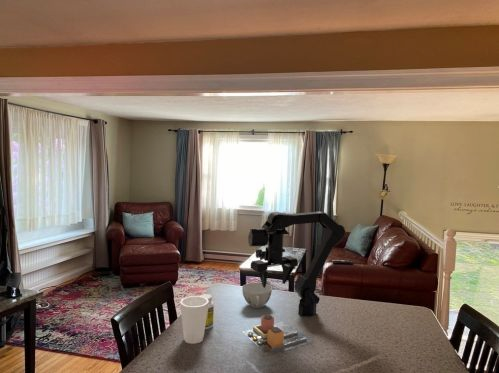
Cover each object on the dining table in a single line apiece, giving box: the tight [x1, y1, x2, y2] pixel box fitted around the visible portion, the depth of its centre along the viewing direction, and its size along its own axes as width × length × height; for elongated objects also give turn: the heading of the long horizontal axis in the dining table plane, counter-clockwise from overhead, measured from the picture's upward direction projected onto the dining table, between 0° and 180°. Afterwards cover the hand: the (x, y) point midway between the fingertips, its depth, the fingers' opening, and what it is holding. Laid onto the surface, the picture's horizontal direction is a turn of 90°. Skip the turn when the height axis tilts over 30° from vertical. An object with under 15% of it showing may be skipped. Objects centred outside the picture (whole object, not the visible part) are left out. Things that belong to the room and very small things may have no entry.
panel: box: [241, 320, 314, 357], centre depth 120 cm, size 18×17×2 cm
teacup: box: [241, 281, 273, 309], centre depth 146 cm, size 15×12×8 cm
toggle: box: [267, 327, 284, 347], centre depth 115 cm, size 4×4×5 cm
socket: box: [252, 324, 276, 339], centre depth 123 cm, size 7×7×1 cm
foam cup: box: [179, 295, 209, 344], centre depth 118 cm, size 10×9×13 cm
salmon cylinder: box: [260, 314, 275, 334], centre depth 123 cm, size 4×4×6 cm
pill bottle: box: [199, 293, 215, 330], centre depth 128 cm, size 6×6×11 cm
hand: (274, 285), depth 135 cm, fingers open, 9 cm apart
